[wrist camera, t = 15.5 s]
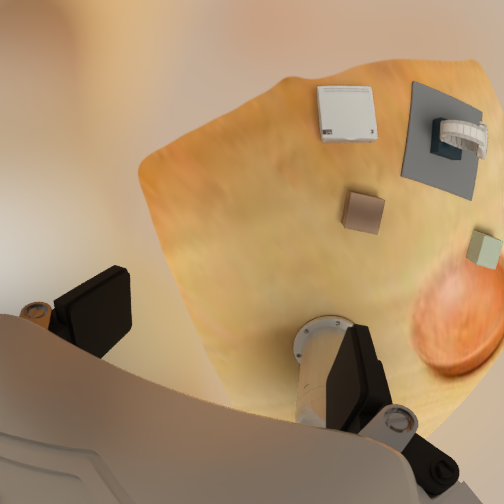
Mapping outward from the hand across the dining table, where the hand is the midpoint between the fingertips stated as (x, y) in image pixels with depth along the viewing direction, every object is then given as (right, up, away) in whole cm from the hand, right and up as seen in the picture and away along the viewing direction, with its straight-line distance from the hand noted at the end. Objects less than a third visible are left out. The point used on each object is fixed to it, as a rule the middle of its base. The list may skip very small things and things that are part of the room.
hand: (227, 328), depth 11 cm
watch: (+31, +20, +23) cm, 43 cm away
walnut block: (+17, +9, +29) cm, 35 cm away
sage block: (+41, +4, +26) cm, 48 cm away
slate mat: (+31, +21, +23) cm, 44 cm away
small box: (+15, +23, +26) cm, 38 cm away
